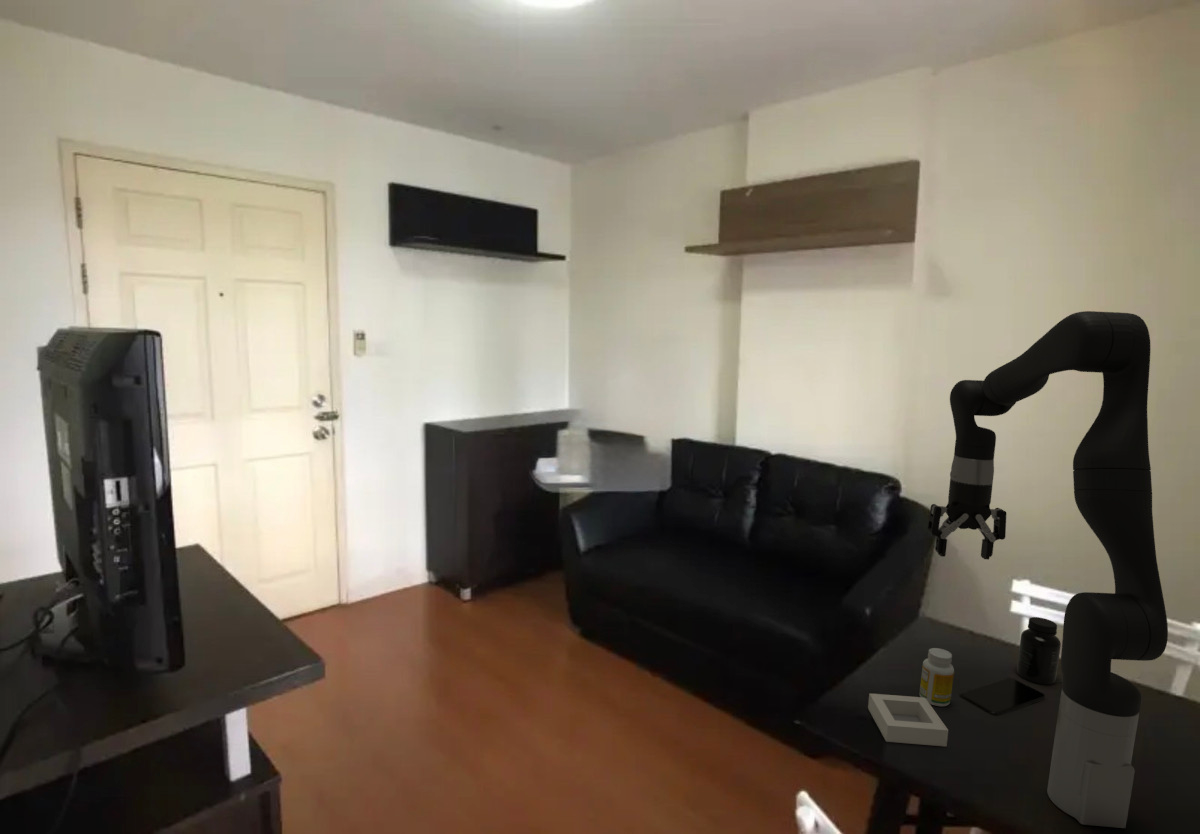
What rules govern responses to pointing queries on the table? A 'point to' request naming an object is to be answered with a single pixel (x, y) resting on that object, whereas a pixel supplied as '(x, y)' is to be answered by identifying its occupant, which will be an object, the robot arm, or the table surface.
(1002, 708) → the smartphone
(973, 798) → the table surface
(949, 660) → the supplement bottle
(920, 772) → the table surface
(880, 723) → the socket plate
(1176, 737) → the table surface
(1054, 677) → the supplement bottle
